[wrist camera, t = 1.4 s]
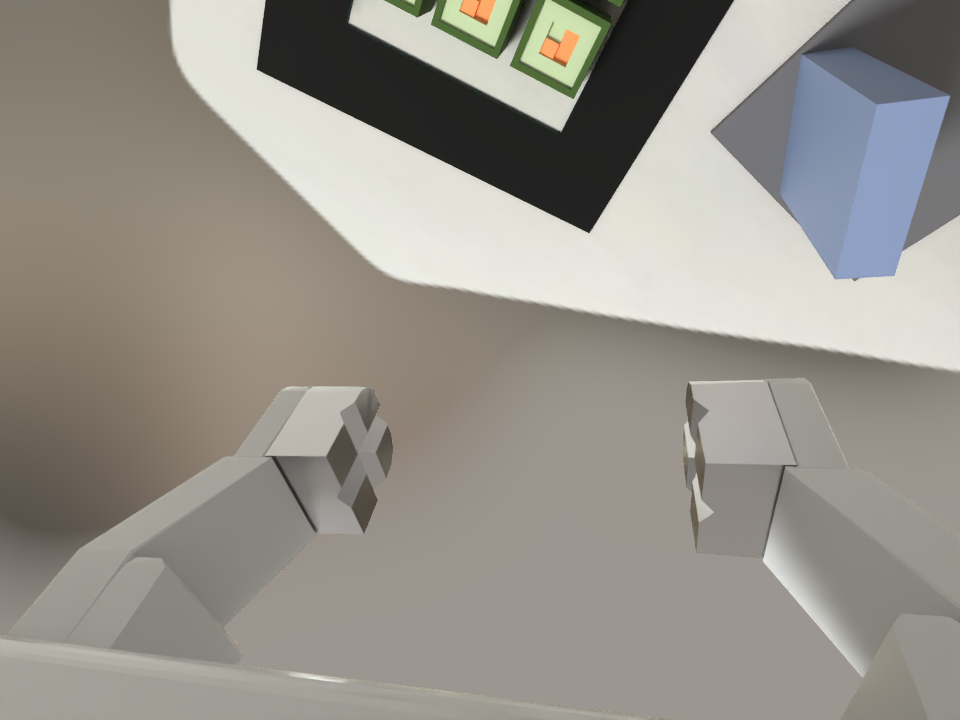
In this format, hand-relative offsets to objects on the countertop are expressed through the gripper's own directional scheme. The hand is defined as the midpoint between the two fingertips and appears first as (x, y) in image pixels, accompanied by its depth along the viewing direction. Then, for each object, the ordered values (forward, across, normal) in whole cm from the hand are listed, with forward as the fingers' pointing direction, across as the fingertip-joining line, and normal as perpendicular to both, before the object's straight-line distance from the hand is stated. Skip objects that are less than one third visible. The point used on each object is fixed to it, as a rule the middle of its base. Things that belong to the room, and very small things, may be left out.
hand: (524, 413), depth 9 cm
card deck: (+31, -13, +6) cm, 34 cm away
